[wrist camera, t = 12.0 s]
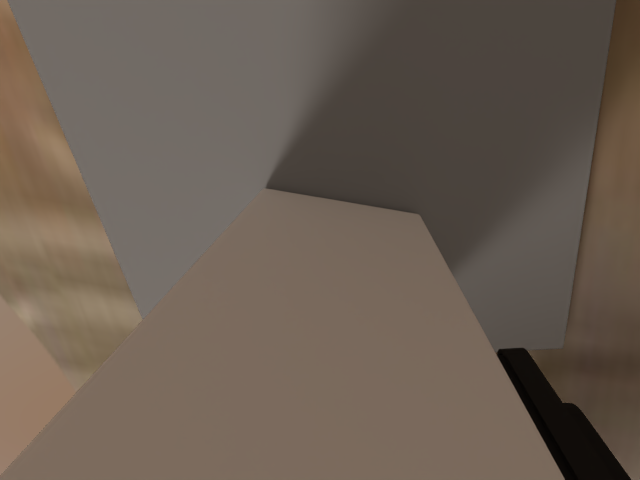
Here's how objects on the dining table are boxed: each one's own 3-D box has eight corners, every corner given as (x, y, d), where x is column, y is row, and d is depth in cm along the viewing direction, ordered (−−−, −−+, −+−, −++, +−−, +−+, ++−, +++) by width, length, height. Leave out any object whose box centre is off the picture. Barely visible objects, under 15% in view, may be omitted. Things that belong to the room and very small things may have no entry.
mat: (554, 338, 18) (563, 348, 17) (171, 361, 21) (164, 371, 20) (697, -694, 7) (734, -779, 7) (-119, -348, 10) (-155, -381, 10)
